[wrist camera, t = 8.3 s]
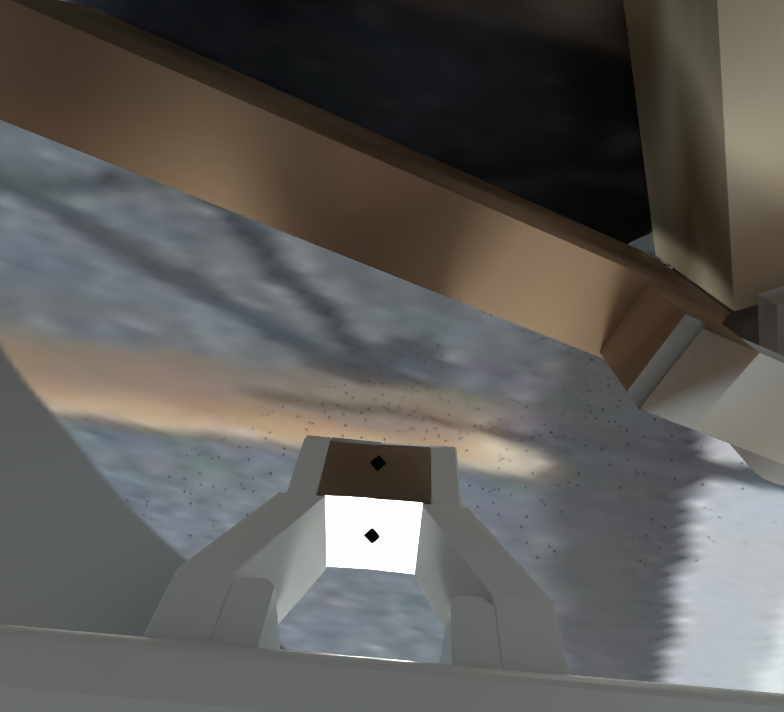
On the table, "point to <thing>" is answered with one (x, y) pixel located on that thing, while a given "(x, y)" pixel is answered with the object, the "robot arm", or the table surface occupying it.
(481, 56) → the table surface
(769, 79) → the base
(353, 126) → the tongs jaw
